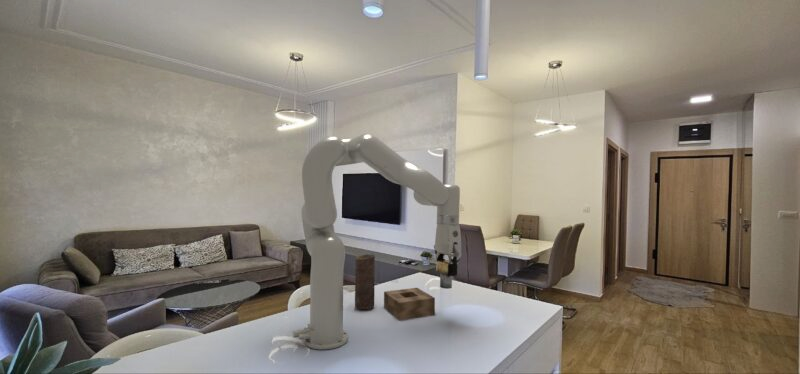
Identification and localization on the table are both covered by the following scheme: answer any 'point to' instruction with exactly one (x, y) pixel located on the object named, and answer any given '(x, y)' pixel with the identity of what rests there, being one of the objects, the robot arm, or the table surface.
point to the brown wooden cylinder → (364, 281)
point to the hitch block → (409, 303)
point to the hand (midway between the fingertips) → (446, 272)
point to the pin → (444, 274)
